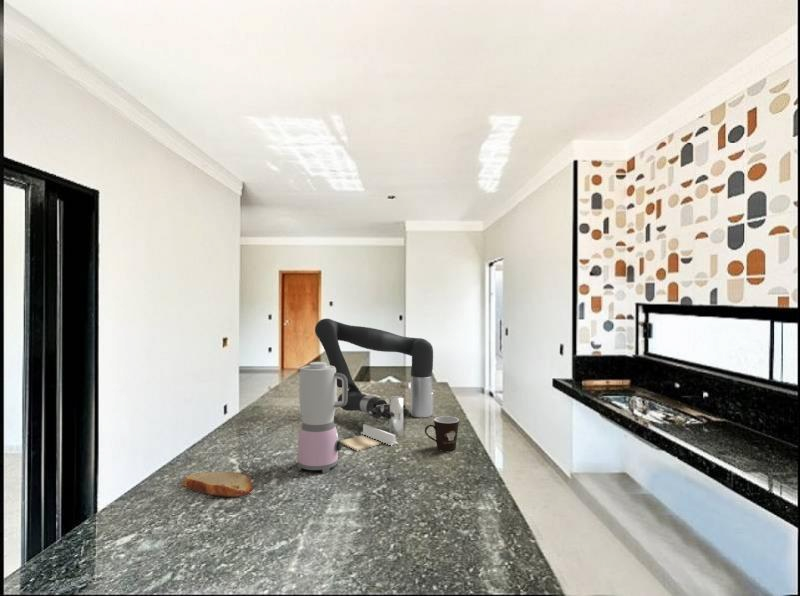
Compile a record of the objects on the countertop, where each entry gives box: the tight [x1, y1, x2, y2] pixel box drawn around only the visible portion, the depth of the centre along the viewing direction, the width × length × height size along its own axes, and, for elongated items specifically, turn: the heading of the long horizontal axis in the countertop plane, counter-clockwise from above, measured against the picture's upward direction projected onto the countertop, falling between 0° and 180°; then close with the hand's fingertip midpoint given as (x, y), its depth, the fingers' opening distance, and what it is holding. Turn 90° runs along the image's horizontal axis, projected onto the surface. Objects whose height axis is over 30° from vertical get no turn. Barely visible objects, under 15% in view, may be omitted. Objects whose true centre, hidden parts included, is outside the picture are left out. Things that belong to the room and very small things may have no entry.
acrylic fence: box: [360, 423, 399, 447], centre depth 169 cm, size 3×18×4 cm, turn 41°
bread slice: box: [181, 471, 254, 498], centre depth 128 cm, size 18×18×4 cm
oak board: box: [339, 434, 381, 452], centre depth 164 cm, size 10×11×1 cm
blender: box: [297, 361, 349, 474], centre depth 142 cm, size 16×12×32 cm
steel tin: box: [389, 395, 404, 437], centre depth 175 cm, size 5×5×14 cm
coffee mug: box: [424, 415, 460, 452], centre depth 160 cm, size 12×9×10 cm
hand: (399, 414), depth 173 cm, fingers open, 8 cm apart
